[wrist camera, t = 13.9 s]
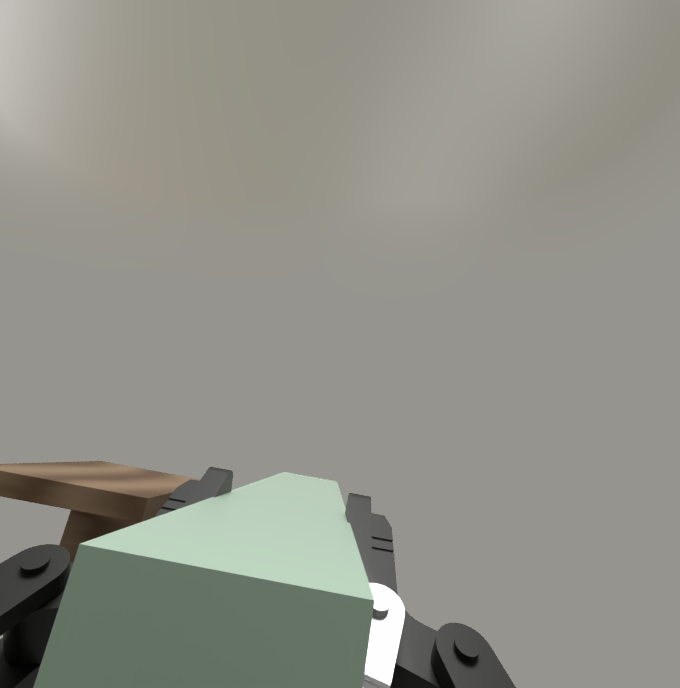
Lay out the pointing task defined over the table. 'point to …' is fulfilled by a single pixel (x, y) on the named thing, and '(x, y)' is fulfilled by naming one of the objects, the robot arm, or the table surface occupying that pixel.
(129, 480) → the brown pedestal stand
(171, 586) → the slide box
